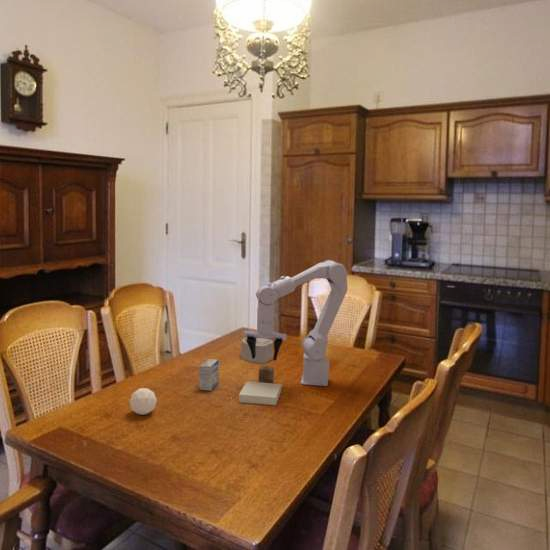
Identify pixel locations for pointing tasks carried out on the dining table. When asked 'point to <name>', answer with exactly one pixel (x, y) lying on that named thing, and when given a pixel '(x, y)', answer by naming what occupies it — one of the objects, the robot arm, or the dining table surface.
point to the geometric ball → (143, 401)
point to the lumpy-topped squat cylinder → (258, 350)
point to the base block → (260, 393)
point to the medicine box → (209, 374)
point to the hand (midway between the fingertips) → (264, 358)
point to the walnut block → (266, 374)
